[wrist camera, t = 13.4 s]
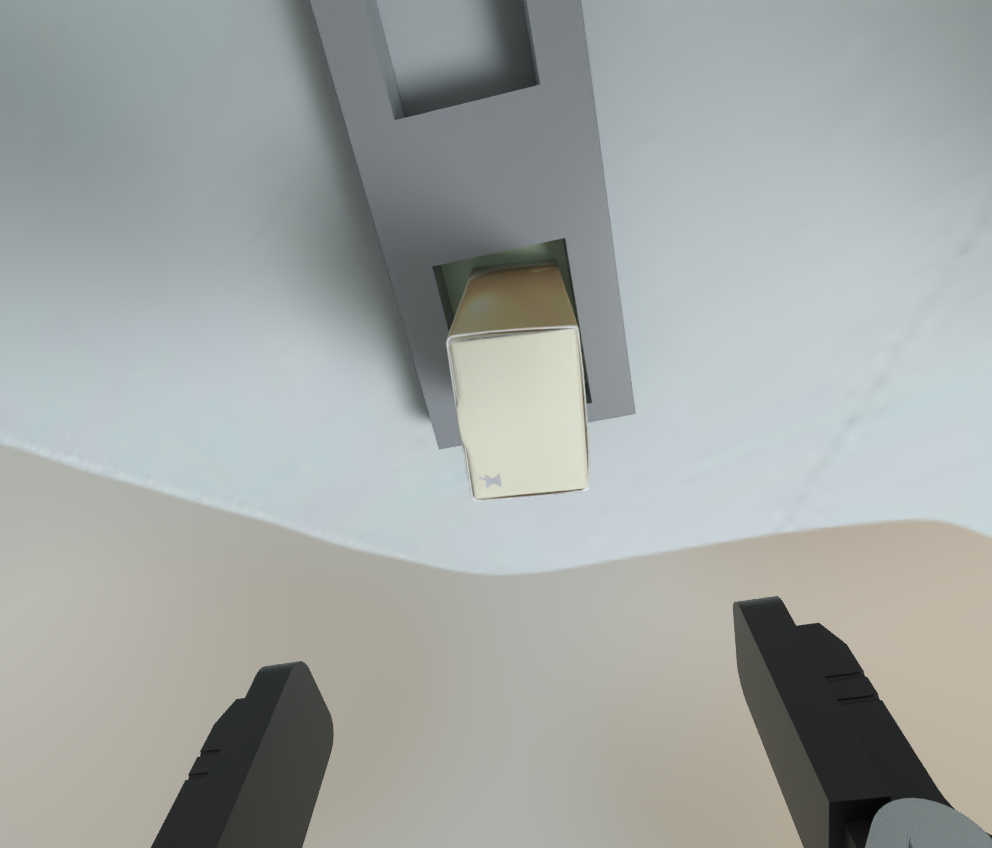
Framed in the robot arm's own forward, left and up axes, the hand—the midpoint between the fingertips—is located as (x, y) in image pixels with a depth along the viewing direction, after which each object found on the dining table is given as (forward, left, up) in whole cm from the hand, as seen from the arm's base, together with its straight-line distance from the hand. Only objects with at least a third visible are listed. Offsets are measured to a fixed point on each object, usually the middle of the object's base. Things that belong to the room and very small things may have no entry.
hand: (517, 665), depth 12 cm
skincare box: (0, 0, -22) cm, 22 cm away
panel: (0, -7, -23) cm, 24 cm away
